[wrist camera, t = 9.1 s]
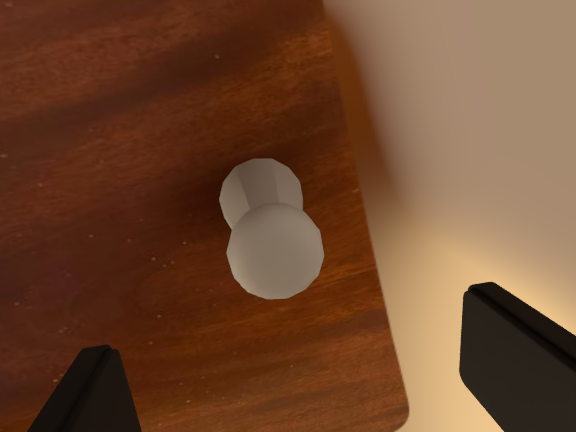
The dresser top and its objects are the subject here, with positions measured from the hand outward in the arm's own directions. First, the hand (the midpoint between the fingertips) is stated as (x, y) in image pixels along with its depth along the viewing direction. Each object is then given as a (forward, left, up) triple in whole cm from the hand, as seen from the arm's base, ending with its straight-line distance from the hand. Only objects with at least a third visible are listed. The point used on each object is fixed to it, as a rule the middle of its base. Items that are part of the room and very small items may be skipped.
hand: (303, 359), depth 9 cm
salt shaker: (0, 0, -19) cm, 19 cm away
